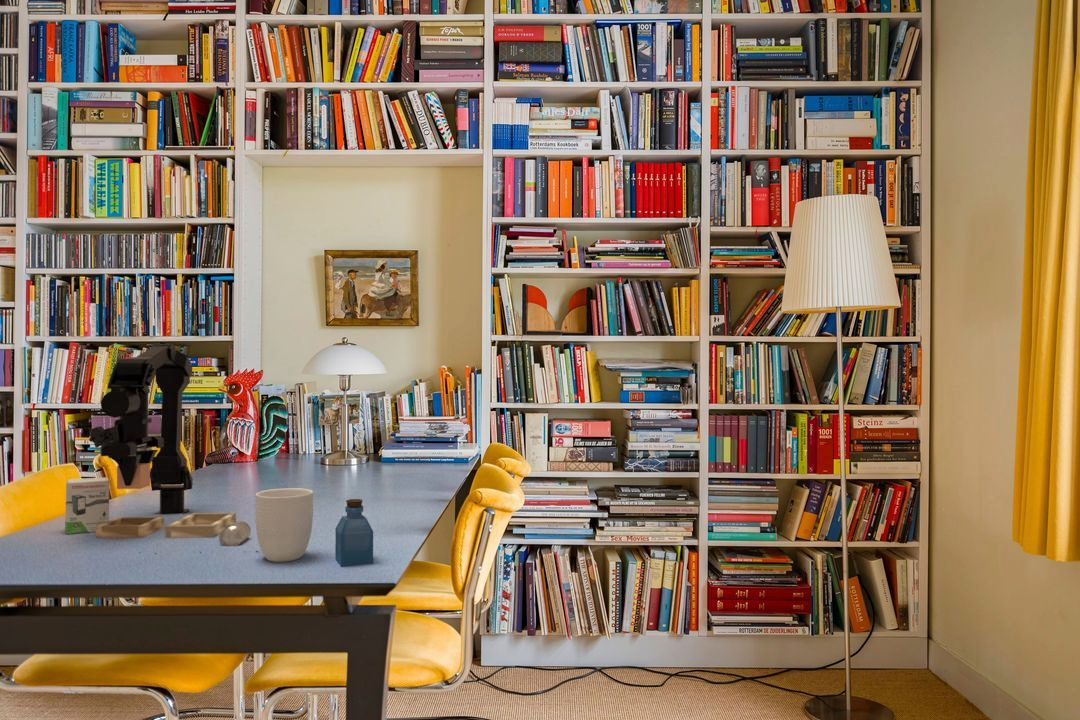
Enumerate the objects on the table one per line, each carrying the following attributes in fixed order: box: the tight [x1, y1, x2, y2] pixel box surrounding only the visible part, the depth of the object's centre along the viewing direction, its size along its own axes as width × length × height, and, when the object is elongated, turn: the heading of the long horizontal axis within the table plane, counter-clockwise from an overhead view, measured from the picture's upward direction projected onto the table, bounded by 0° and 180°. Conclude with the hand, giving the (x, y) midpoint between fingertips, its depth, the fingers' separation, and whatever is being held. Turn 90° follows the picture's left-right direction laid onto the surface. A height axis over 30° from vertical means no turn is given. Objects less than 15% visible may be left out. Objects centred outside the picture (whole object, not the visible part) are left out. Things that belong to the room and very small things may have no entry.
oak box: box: [95, 516, 165, 539], centre depth 176 cm, size 10×10×3 cm
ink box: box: [64, 476, 110, 535], centre depth 181 cm, size 9×5×12 cm, turn 123°
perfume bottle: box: [334, 498, 374, 567], centre depth 155 cm, size 6×6×12 cm
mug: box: [254, 487, 314, 563], centre depth 158 cm, size 15×11×13 cm
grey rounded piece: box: [218, 520, 252, 547], centre depth 168 cm, size 7×4×4 cm
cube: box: [116, 463, 151, 490], centre depth 177 cm, size 5×5×5 cm
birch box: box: [164, 512, 237, 539], centre depth 179 cm, size 15×10×3 cm
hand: (133, 483), depth 177 cm, fingers closed on cube, 5 cm apart
